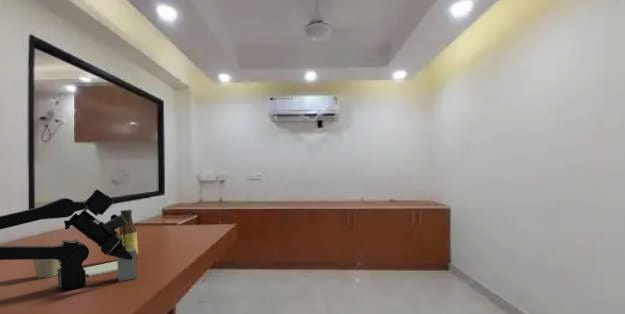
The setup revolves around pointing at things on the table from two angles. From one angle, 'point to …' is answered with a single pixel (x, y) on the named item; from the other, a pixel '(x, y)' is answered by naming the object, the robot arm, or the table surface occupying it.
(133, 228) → the sauce bottle
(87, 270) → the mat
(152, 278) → the table surface
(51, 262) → the flower pot
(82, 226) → the robot arm
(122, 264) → the grey rectangular block
